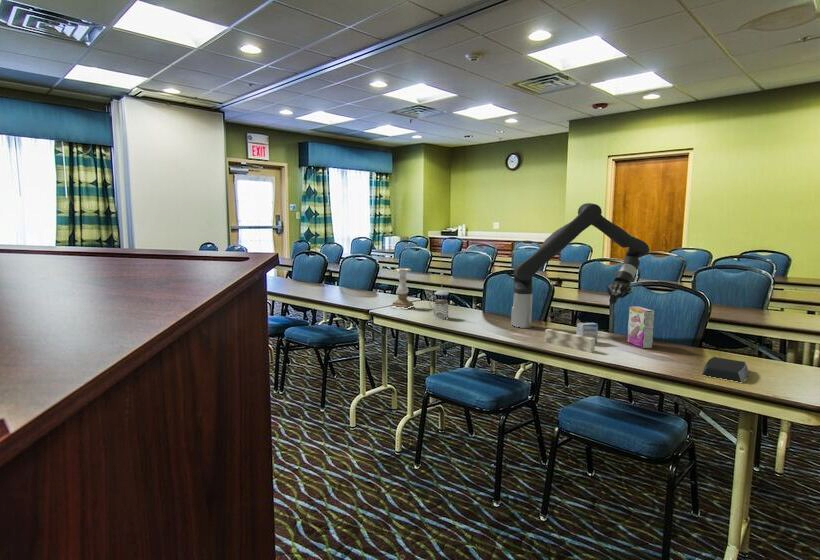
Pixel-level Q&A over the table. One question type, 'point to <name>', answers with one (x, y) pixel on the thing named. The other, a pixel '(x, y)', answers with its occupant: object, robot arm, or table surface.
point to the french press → (443, 304)
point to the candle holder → (402, 290)
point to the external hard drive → (726, 369)
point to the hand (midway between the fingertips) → (611, 302)
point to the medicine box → (588, 330)
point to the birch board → (570, 340)
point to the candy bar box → (640, 326)
